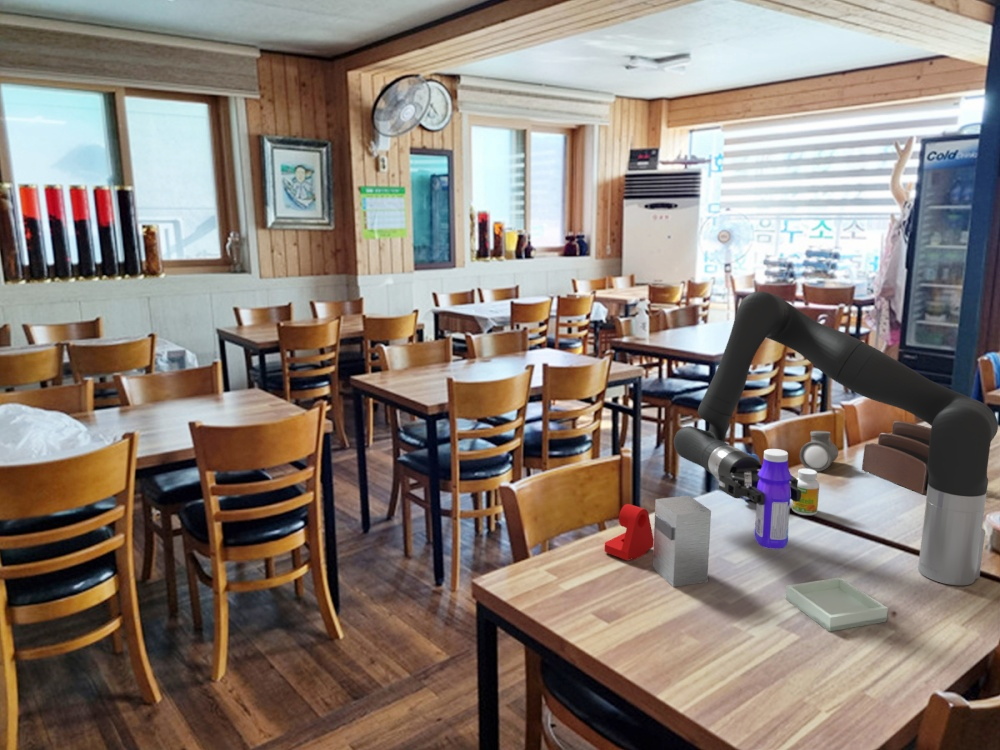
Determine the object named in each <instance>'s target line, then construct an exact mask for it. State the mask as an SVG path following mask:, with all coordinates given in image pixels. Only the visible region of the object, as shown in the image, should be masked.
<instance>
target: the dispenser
mask: <svg viewBox="0 0 1000 750" xmlns="http://www.w3.org/2000/svg"><path fill="white" fill-rule="evenodd" d="M654 500H655V502H654V503H655V505H654V507H655V508H654V529H653V532H654V533H653V539H654V543H653V555H652V558H653V559H652V568H653V569H654V571H656V572H657V573H658V574H659V575H660V576H661V577H662V578H663V579H664V580H665V581H666V582H668V584H669V585H670V586H672V587H673V588H675V587H682V586H688V585H695V584H702V583H708V579H709V578H708V575H709V574H708V573H709V556H710V539H711V537H710V536H711V520H712V510H711V509H709V508H708V507H707V506H705V505H704V504H702V503H700V502H699V501H698V500H696V499H694V498H693V497H692V496H690V495H689V494H688V495H680V496H672V497H663V498H655V499H654Z"/></svg>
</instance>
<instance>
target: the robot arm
mask: <svg viewBox="0 0 1000 750" xmlns="http://www.w3.org/2000/svg"><path fill="white" fill-rule="evenodd" d="M733 320H734V321H733V324H732V327H731V330H730V331H731V332H730V334H729V338H728V341H727V343H726V346H725V349H724V351H723V354H722V357H721V360H720V362H719V365H718V366H717V369H716V370H715V373H714V375H713V377H712V380H711V381H710V384H709V385H708V387H707V388H706V391H705V394H704V395H703V398H702V399H701V401H700V404H699V406H698V409H697V414H698V416H699V417H700V418H701V419H703V421H705V422H707V423H709V429H708V430H704V429H702V428H699V427H695V426H691V425H687V426H683V427H681V428H679V430H678V431H677V432H676V433H675V436H674V437H673V447H674V450H675V452H676V453H677V455H678V456H680V457H681V458H683V459H684V460H686V461H689V462H690V463H693V464H696V465H697V466H700V467H701V468H703V469H704V470H705V471H707V472H708V473H710V474H711V475H713V476H714V477H715V479H716V480H717V481H718V489H719V490H720V491H722V492H724V493H726V494H727V495H729V496H730V497H732V498H733V499H740V498H741V497H742V496H744V498H746V499H750V500H751V501H752V502H754V503H756V505H757V504H759V505H764V503H765V494H764V493H763V492H762V491H760V490H759V489H757V485H758V482H759V479H760V478H759V476H758V472H759V471H760V470H761V468H762V465H763V464H762V463H761V461H760V462H759V461H758V460H757V459H755V458H753V457H752V456H750V455H748V454H747V452H745V451H743V450H741V449H740V448H738V447H735V446H732V445H731V444H728V443H727V442H726V437H727V432H728V427H729V424H730V420H731V418H732V416H733V414H734V412H735V411H736V408H737V406H738V404H739V402H740V399H741V397H742V396H743V393H744V389H745V386H746V384H747V379H748V376H749V375H748V374H749V371H750V368H751V366H752V363H753V360H754V357H755V355H756V354H757V352H758V350H759V348H760V347H761V345H762V344H763V342H764V341H765V339H769V340H772V341H774V342H776V343H779V344H780V345H783V346H785V347H787V348H789V349H790V350H793V351H794V352H796V353H798V354H799V355H801V356H803V358H805V359H806V361H809V363H811V364H812V365H813V366H814V367H815V368H816V369H818V370H819V371H820V372H821V373H823V374H824V375H826V376H827V377H828V378H830V379H831V380H833V381H834V382H836V383H838V384H840V385H841V386H843V387H844V388H846V389H848V390H850V391H851V392H854V393H855V394H858V395H860V396H862V397H863V398H867V399H870V400H873V401H875V402H877V403H878V402H879V403H881V404H885V405H888V406H891V407H895V408H898V409H900V410H903V411H906V412H907V413H910V414H912V415H914V416H915V417H917V418H919V419H920V420H922V421H924V422H925V423H926V424H928V425H930V427H931V433H930V442H929V454H928V473H929V479H928V488H927V494H926V497H925V507H924V515H923V525H922V531H921V532H922V533H921V540H920V548H919V549H920V550H919V557H918V566H917V568H918V569H917V570H918V571H919V573H920V574H921V575H922V576H924V577H926V578H928V579H930V580H932V581H934V582H937V583H938V582H939V583H942V584H946V585H951V586H969V585H972V584H974V583H975V581H976V580H977V579H980V575H981V567H982V560H983V559H982V558H983V554H984V544H985V540H986V539H985V537H986V531H985V529H984V528H983V523H984V517H985V516H984V515H985V514H984V513H985V508H986V507H985V506H986V500H987V492H988V486H989V478H988V467H989V458H990V457H989V456H990V449H991V442H992V441H993V439H994V438H995V437H996V435H997V432H998V430H999V423H998V422H999V421H998V418H997V416H996V414H995V412H993V410H992V409H991V408H990V407H989V406H988V405H986V404H985V403H983V402H982V401H979V400H977V399H975V398H973V397H970V396H967V395H966V394H964V393H963V394H962V393H960V392H958V391H955V390H952V389H950V388H949V387H946V386H944V385H941V384H939V383H937V382H934V381H933V380H932V379H931V380H930V379H929V378H926V376H923V375H922V374H920V373H918V372H917V371H916V370H914V369H912V368H910V367H909V366H907V365H906V364H904V363H902V362H900V361H898V360H897V359H895V358H893V357H892V356H890V355H888V354H886V353H884V352H883V351H881V350H880V349H877V348H876V347H873V346H871V345H869V344H868V343H866V342H864V341H863V340H861V339H859V338H856V337H854V336H851V335H849V334H847V333H846V332H845V333H844V332H843V331H840V330H838V329H835V328H832V327H830V326H827V325H825V324H823V323H820V322H819V321H816V320H814V319H813V318H812V317H810V316H808V315H807V314H805V313H803V312H802V311H801V310H799V309H797V307H795V306H793V305H792V304H790V303H789V302H788V301H786V300H785V299H784V298H782V297H781V296H779V295H778V294H774V293H772V292H771V293H770V292H769V291H761V290H760V291H754V292H752V293H750V294H748V295H746V296H744V298H743V299H742V300H741V302H740V303H739V305H738V309H737V311H736V315H735V317H734V319H733ZM791 476H792V477H791V480H790V481H789V482H790V488H791V499H790V500H791V501H792V502H793V501H795V502H799V501H800V499H801V490H799V489H797V486H798V480H797V478H796V477H794V476H793V475H792V474H791Z"/></svg>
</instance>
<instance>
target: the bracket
mask: <svg viewBox="0 0 1000 750" xmlns="http://www.w3.org/2000/svg"><path fill="white" fill-rule="evenodd" d="M650 520H651V519H650V514H649V511H648V510H647V509H646V508H643V507H640V506H636V505H633V504H630V503H626V504H624V505H623V506H622V507H621V509H620V512H619V515H618V522H619V525H620V526H621V527H623V528H626V530H625V532H623V533H621V534H620V535H617V536H615V537H613V538H611V539H608V540H607V541H605V542H604V550H603V551H604V552H605V553H607V554H609V555H612V556H614V557H617V558H620V559H622V560H625V561H628V562H629V561H630V560H634V561H635V560H637V559H639V558H640V557H642V556H644V555H646V554H648V551H649V550H651V549H652V548H654V533H653V529H652V526H651V525H652V524H651V521H650Z"/></svg>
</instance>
